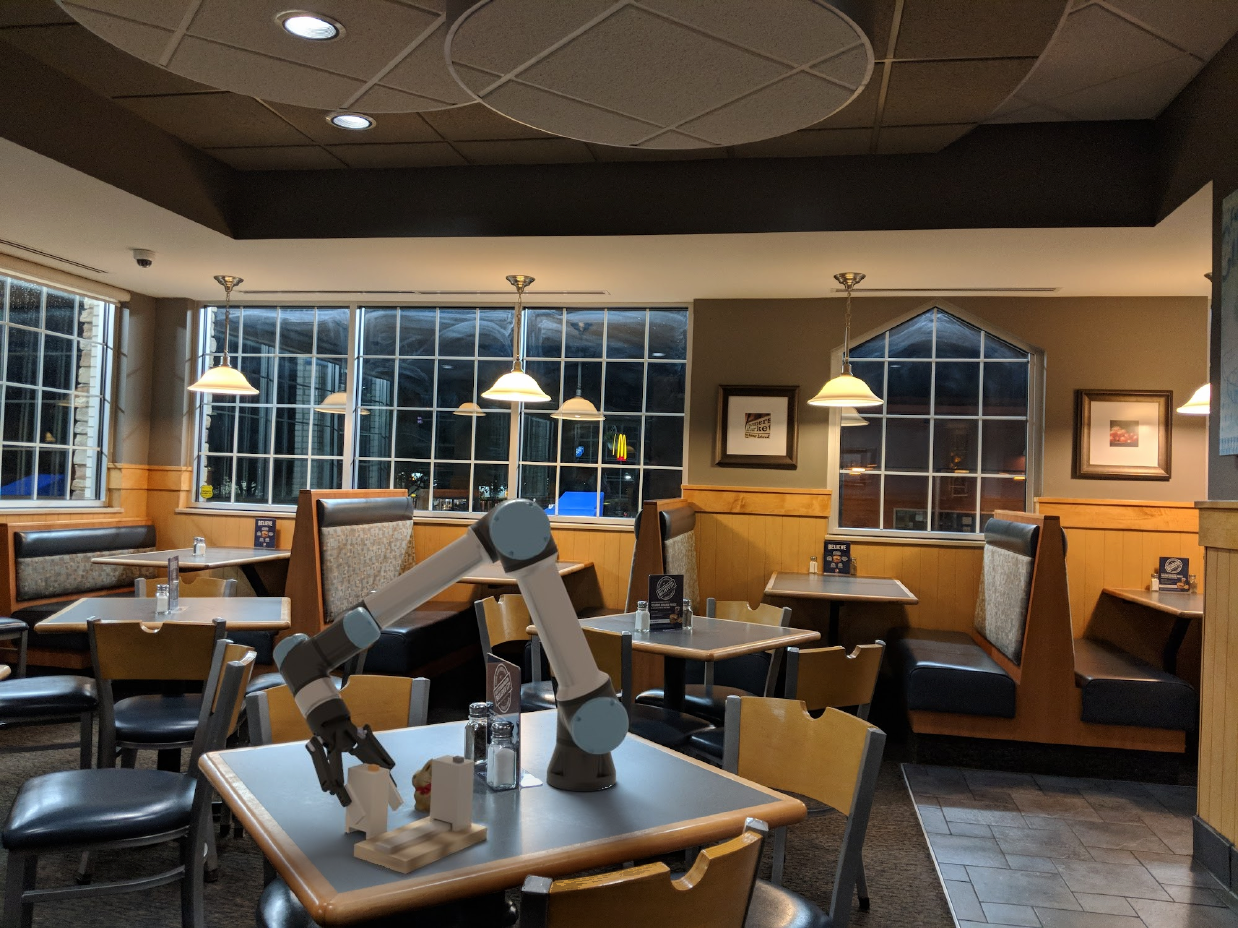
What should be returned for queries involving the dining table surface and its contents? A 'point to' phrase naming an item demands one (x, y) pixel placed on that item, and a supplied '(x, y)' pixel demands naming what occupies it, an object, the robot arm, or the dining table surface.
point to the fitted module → (452, 791)
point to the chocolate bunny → (423, 787)
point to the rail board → (417, 844)
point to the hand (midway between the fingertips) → (379, 812)
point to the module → (369, 798)
